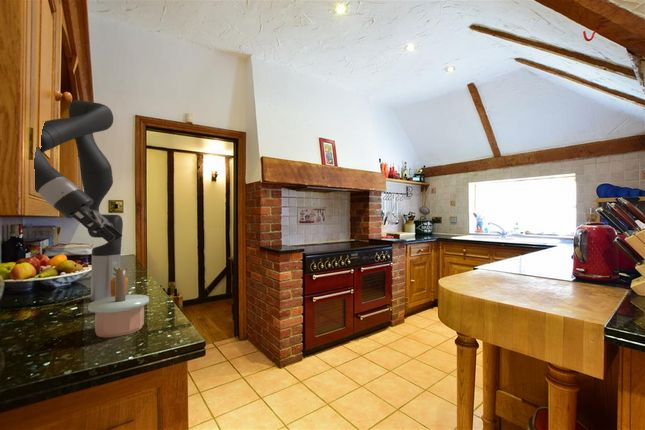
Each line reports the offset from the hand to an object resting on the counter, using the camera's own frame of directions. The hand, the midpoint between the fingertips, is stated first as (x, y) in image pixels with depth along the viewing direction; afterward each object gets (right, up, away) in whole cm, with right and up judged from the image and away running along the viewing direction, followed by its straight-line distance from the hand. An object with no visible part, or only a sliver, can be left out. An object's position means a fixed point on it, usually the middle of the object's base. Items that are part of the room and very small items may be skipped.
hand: (116, 238), depth 83 cm
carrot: (-11, -26, +16) cm, 33 cm away
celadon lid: (+2, -19, -2) cm, 19 cm away
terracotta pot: (+2, -26, -2) cm, 26 cm away
